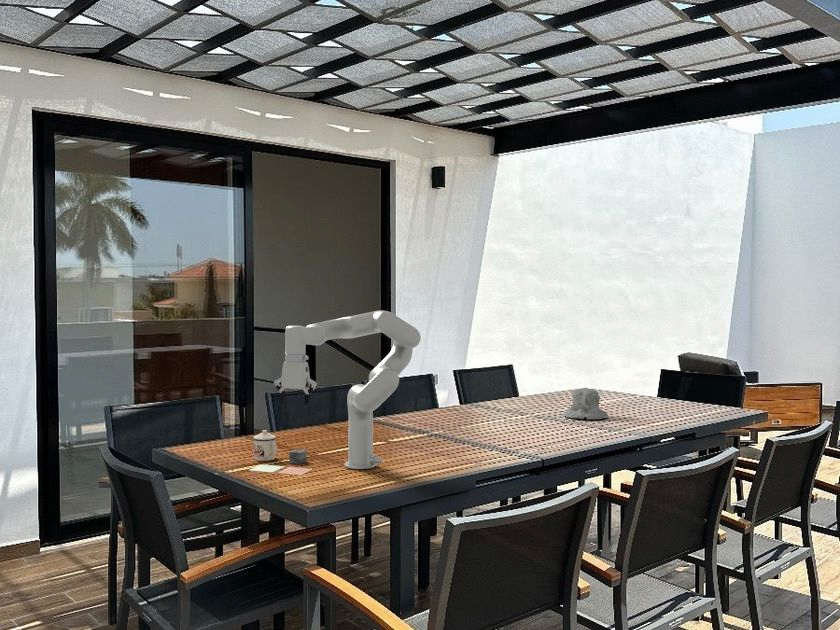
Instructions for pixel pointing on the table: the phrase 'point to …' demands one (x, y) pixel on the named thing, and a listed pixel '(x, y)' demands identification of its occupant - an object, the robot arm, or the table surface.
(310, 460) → the table surface
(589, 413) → the hat
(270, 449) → the teacup with lid
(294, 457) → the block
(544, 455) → the table surface
